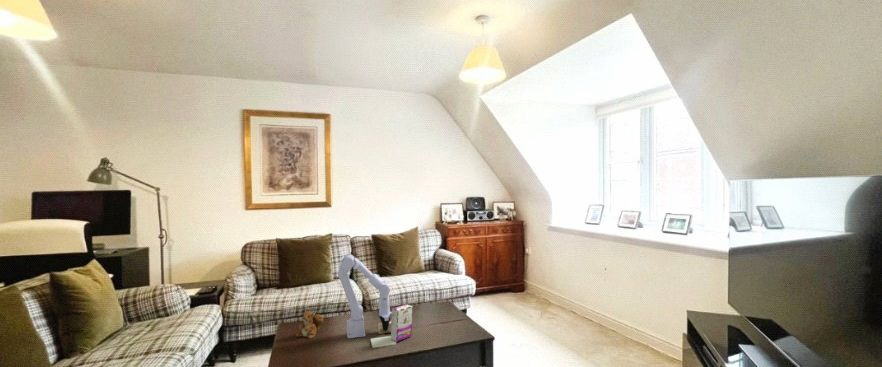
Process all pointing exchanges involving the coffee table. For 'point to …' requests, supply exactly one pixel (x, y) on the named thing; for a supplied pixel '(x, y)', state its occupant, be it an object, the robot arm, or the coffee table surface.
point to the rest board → (382, 342)
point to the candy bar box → (401, 322)
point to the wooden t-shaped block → (382, 327)
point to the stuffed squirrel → (310, 325)
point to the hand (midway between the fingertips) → (385, 329)
